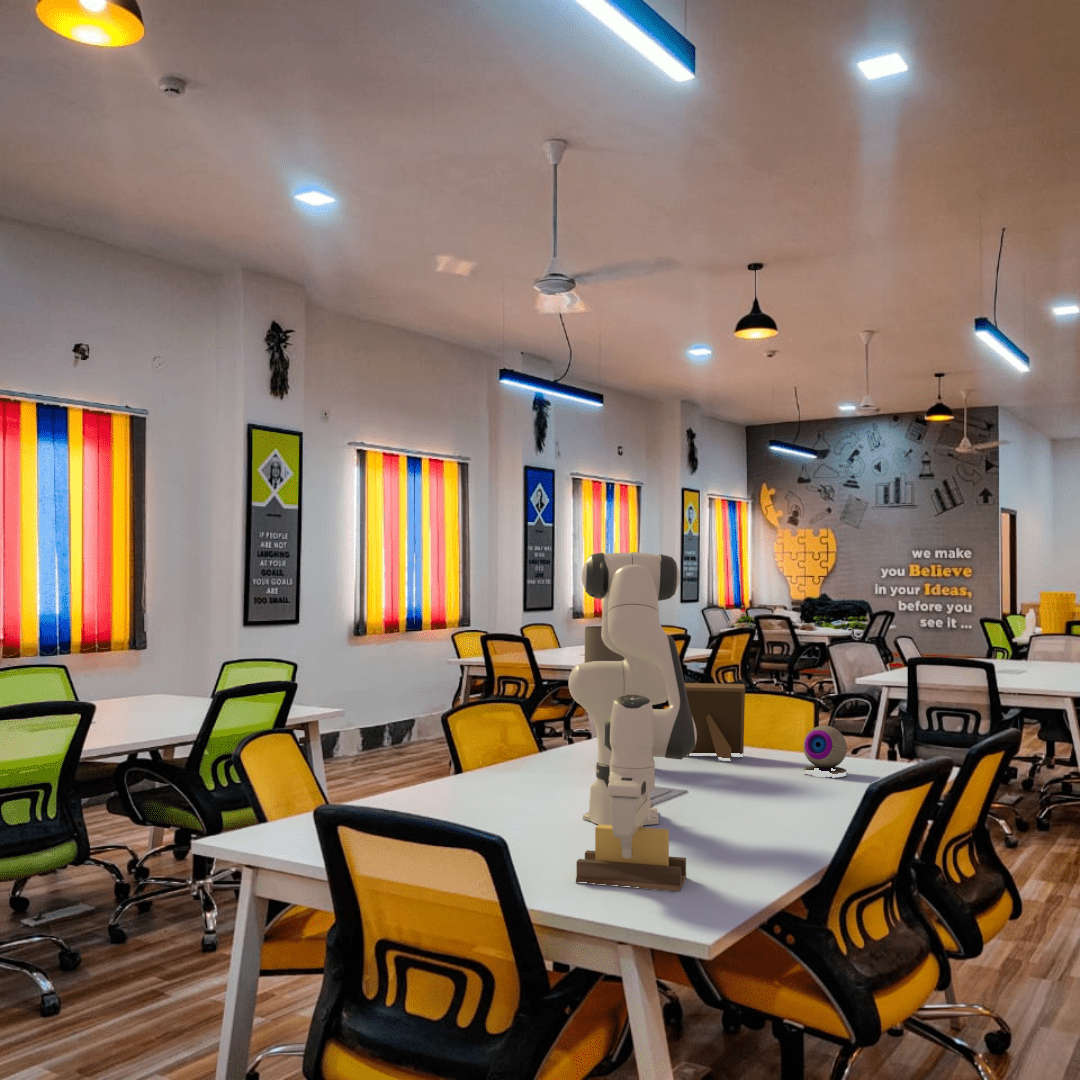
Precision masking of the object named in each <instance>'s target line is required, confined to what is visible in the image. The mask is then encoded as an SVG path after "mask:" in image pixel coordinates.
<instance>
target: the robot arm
mask: <svg viewBox="0 0 1080 1080" xmlns="http://www.w3.org/2000/svg"><path fill="white" fill-rule="evenodd" d="M680 576H681V575H680V570H679V568H678V565H677V562H676V560H675V559H674V558H673V557H672V556H670V555H665V554H661V553H660V554H653V553H648V552H647V553H646V552H635V551H634V552H632V551H631V552H612V553H604V552H597V553H593V554H590V555H589V556H588V557H587V558H586V561H585V562H584V564H583V567H582V571H581V580H582V581H581V582H582V585H583V587H584V590H585V593H586V594H587V595H588V596H589V597H591V598H595V599H599V600H602V599H603V601H602V616H601V626H602V630H601V637H602V641H603V643H604V644H605V645H606V646H607V647H608V648H609V649H610V650H612V651H613V652H615V653H617V654H620V655H621V656H623V657H624V658H625V660H623V661H592V662H587V663H585V662H582V663H578V664H576V665H575V666H574V667H573V668H572V669H571V672H570V674H569V676H568V681H567V682H568V689H569V690H568V691H569V693H570V695H571V698H572V699H573V700H574V702H576V703H577V704H579V705H580V706H581V707H582V708H583V709H584V710H585V711H586V712H587V714H588V715H589V717H590V718H591V720H592V722H593V724H594V727H595V731H596V738H597V739H596V741H597V756H598V757H597V759H598V761H597V762H596V764H595V765H596V766H595V777H596V780H595V781H594V782H593V783H592V784H591V785H590V786H589V787H590V788H589V800H588V801H589V802H588V803H589V805H588V806H589V807H588V812H585V813H583V815H582V820H585V821H589V822H591V823H593V824H596V825H599V824H600V825H612V830H613V834H614V836H615V837H617V838H620V842H621V846H622V857H623V858H631V856H632V855H633V847H632V837H633V836H634V834H635V833H636V832H637V831H638V829H639V828H640V827H644V826H647V825H648V826H649V825H658V824H660V821H659V820H660V819H659V814H658V809H657V808H656V807H654V803H653V802H651V792H652V791H654V790H655V789H656V787H655V784H656V783H655V782H656V781H655V778H656V773H655V771H656V770H655V769H656V767H655V765H656V762H655V760H654V758H664V759H672V760H683V759H684V758H686V757H688V756H687V755H689V754H690V753H691V752H692V751H693V750H694V749H695V745H696V740H697V732H696V726H695V723H694V720H693V717H692V715H691V711H690V707H689V703H688V698H687V693H686V688H685V683H686V682H685V678H684V674H683V669H682V665H681V661H680V660H681V659H680V655H679V651H678V650H679V649H678V646H677V644H676V641H675V640H674V637H673V636H671V635H669V634H668V633H666V631H665V630H664V629H663V627H662V625H661V620H660V608H659V607H660V606H659V602H661V601H666V600H669V599H671V598H672V597H674V596H675V594H676V592H677V589H678V587H679V585H680ZM666 702H668V707H667V708H660V709H659V708H656V709H655V708H653V706H654V705H655V706H656V705H659V704H663V703H666Z"/></svg>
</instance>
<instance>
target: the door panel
mask: <svg viewBox="0 0 1080 1080" xmlns="http://www.w3.org/2000/svg"><path fill="white" fill-rule="evenodd" d="M594 834H595V835H594V838H595V840H594V841H595V842H594V845H595V846H594V847H595V848H594V851H595V860H600V861H613V862H625V863H638V864H651V865H664V866H669V857H670V829H669V828H659V827H658V828H657V827H644V826H643V827H640V828H639V829H638V831H637V832H636V833H635V834H634V836H633V837H632V847H633V855H632V856H631V858H623V857H622V846H621V842H620V838H617V837H615V836H614V834H613V830H612V825H600V824H597V825H596V826H595V830H594Z"/></svg>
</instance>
